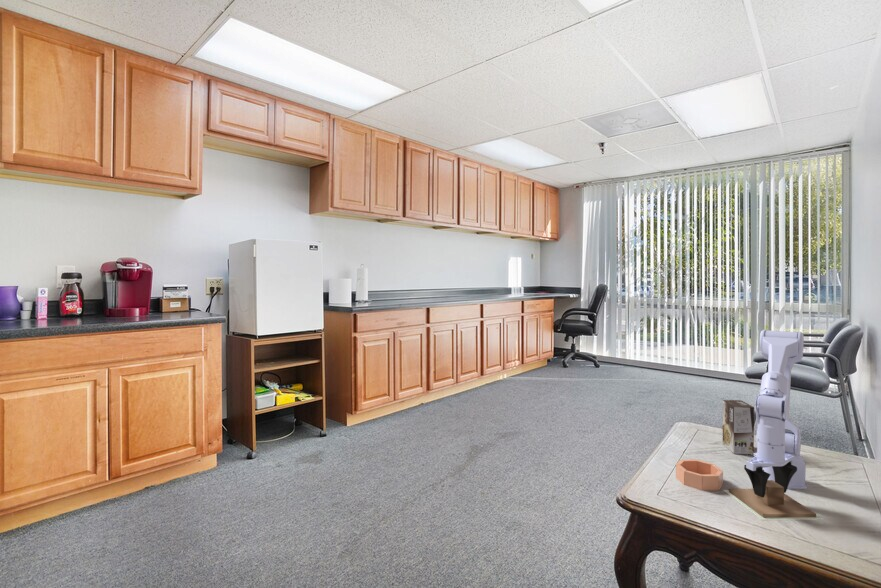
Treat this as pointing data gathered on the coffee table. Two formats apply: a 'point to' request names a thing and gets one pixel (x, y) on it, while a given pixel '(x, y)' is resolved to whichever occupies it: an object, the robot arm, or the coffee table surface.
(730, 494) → the mat
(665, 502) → the coffee table surface
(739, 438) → the coffee box
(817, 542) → the coffee table surface
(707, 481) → the bowl
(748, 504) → the lid
